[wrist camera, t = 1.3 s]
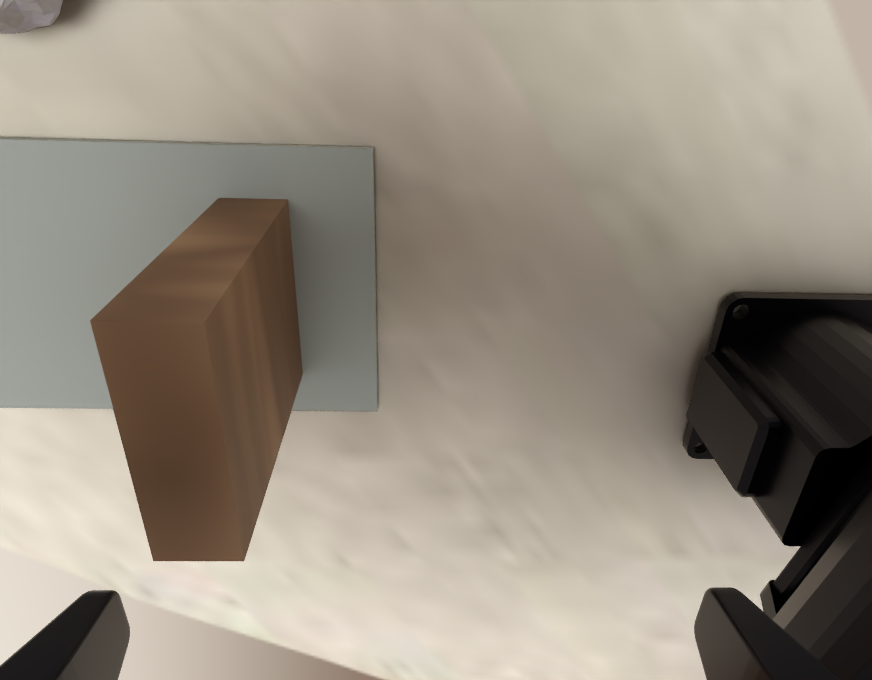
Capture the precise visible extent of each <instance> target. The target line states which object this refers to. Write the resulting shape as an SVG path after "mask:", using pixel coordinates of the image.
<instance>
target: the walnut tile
mask: <svg viewBox="0 0 872 680" xmlns="http://www.w3.org/2000/svg"><path fill="white" fill-rule="evenodd" d="M90 323H91V327H92V330H93V334H94V338H95V342H96V346H97V349H98V353H99V357H100V361H101V364H102V368H103V372H104V376H105V380H106V383H107V387H108V391H109V395H110V398H111V402H112V406H113V410H114V414H115V417H116V421H117V425H118V429H119V432H120V436H121V440H122V444H123V448H124V451H125V455H126V459H127V463H128V467H129V470H130V474H131V478H132V482H133V485H134V489H135V493H136V497H137V501H138V504H139V508H140V512H141V516H142V519H143V523H144V527H145V531H146V535H147V538H148V542H149V546H150V550H151V554H152V557H153V561H244V560H245V556H246V553H247V550H248V547H249V544H250V541H251V537H252V534H253V531H254V528H255V525H256V521H257V518H258V515H259V512H260V509H261V506H262V502H263V499H264V496H265V493H266V490H267V487H268V483H269V480H270V477H271V474H272V471H273V467H274V464H275V461H276V458H277V455H278V452H279V448H280V445H281V442H282V439H283V436H284V433H285V429H286V426H287V423H288V420H289V417H290V413H291V410H292V407H293V404H294V401H295V398H296V394H297V391H298V388H299V385H300V382H301V379H302V375H303V370H302V358H301V347H300V335H299V323H298V311H297V299H296V288H295V276H294V264H293V252H292V240H291V229H290V217H289V205H288V199H253V198H218V199H217V200H216V201H215V202H214V203H213V204H212V205H211V206H210V207H209V208H208V209H206V210H205V211H204V212H203V213H202V214H201V215H200V216H199V217H198V218H197V219H196V220H195V221H194V222H193V223H192V224H191V225H190V226H189V227H188V228H187V229H185V230H184V231H183V232H182V233H181V234H180V235H179V236H178V237H177V238H176V239H175V240H174V241H173V242H172V243H171V244H170V245H169V246H168V247H167V248H166V249H164V250H163V251H162V252H161V253H160V254H159V255H158V256H157V257H156V258H155V259H154V260H153V261H152V262H151V263H150V264H149V265H148V266H147V267H146V268H145V269H143V270H142V271H141V272H140V273H139V274H138V275H137V276H136V277H135V278H134V279H133V280H132V281H131V282H130V283H129V284H128V285H127V286H126V287H125V288H124V289H122V290H121V291H120V292H119V293H118V294H117V295H116V296H115V297H114V298H113V299H112V300H111V301H110V302H109V303H108V304H107V305H106V306H105V307H104V308H103V309H102V310H100V311H99V312H98V313H97V314H96V315H95V316H94V317H93V318H92V319H91V320H90Z"/></svg>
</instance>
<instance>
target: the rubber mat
mask: <svg viewBox="0 0 872 680" xmlns="http://www.w3.org/2000/svg"><path fill="white" fill-rule="evenodd" d="M218 198H253V199H288V205H289V217H290V229H291V240H292V252H293V264H294V276H295V288H296V299H297V311H298V323H299V335H300V347H301V358H302V370H303V375H302V379H301V382H300V385H299V388H298V391H297V394H296V398H295V401H294V404H293V407H292V410H291V411H374V412H377V411H378V381H377V323H376V265H375V207H374V149H373V147H363V146H325V145H287V144H249V143H211V142H173V141H135V140H97V139H59V138H21V137H0V408H87V409H113V406H112V402H111V398H110V395H109V391H108V387H107V383H106V380H105V376H104V372H103V368H102V364H101V361H100V357H99V353H98V349H97V346H96V342H95V338H94V334H93V330H92V327H91V323H90V320H91V319H92V318H93V317H94V316H95V315H96V314H97V313H98V312H99V311H100V310H102V309H103V308H104V307H105V306H106V305H107V304H108V303H109V302H110V301H111V300H112V299H113V298H114V297H115V296H116V295H117V294H118V293H119V292H120V291H121V290H122V289H124V288H125V287H126V286H127V285H128V284H129V283H130V282H131V281H132V280H133V279H134V278H135V277H136V276H137V275H138V274H139V273H140V272H141V271H142V270H143V269H145V268H146V267H147V266H148V265H149V264H150V263H151V262H152V261H153V260H154V259H155V258H156V257H157V256H158V255H159V254H160V253H161V252H162V251H163V250H164V249H166V248H167V247H168V246H169V245H170V244H171V243H172V242H173V241H174V240H175V239H176V238H177V237H178V236H179V235H180V234H181V233H182V232H183V231H184V230H185V229H187V228H188V227H189V226H190V225H191V224H192V223H193V222H194V221H195V220H196V219H197V218H198V217H199V216H200V215H201V214H202V213H203V212H204V211H205V210H206V209H208V208H209V207H210V206H211V205H212V204H213V203H214V202H215V201H216V200H217V199H218Z"/></svg>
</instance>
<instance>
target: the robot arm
mask: <svg viewBox="0 0 872 680" xmlns="http://www.w3.org/2000/svg"><path fill="white" fill-rule="evenodd" d="M739 305H743V308H742V309H741V311H739V312H738V313H734V314H733V311H734V309H735V308H736V307H737V306H739ZM687 418H688V420H689V422H688V425H687V429H686V432H685V436H684V440H683V446H684V448H685V450H686V451H687V453H688V455H689V456H691V457H692V458H696V459H715V461H716V462H717V464H718V465H719V467H720V468H721V470H722V471H723V473H724V474H725V476H726V477H727V479H728V480H729V482H730V484H731V485H732V487H733V488H734V489H735V491H736V492H737V493H738V494H739V495H740V496H741V497H752V499H753V500H754V502H755V503H756V505H757V506H758V508H759V509H760V510H761V512H762V513H763V515H764V516H765V518H766V519H767V521H768V522H769V524H770V525H771V527H772V528H773V530H774V531H775V533H776V534H777V535H778V537H779V538H780V540H781V541H782V543H783V544H784V545H787V546H801V547H800V548H799V549H798V551H797V552H796V553H795V555H794V556H793V557H792V559H791V560H790V561H789V563H788V564H787V565H786V567H785V568H784V569H783V571H782V572H781V573H780V575H779V576H778V577H777V579H776V580H771V581H769V583H768V584H767V585H766V587H765V588H764V589H763V591H762V592H761V594H760V596H761V601H762V606H763V611H764V612H763V611H762V610H761V609H760V608H758V607H757V606H756V605H755V604H754V603H753V602H752V601H750V600H749V599H748V598H747V597H746V596H745V595H744V594H743V593H741V592H740V591H738V590H737V589H734V588H709V589H708V590H707V591H706V592H705V594H704V597H703V600H702V603H701V606H700V609H699V611H698V614H697V617H696V620H695V625H694V633H695V639H696V643H697V646H698V650H699V653H700V657H701V661H702V664H703V668H704V671H705V675H706V678H707V680H872V295H844V294H788V293H734V294H731V295H730V296H728V297H727V298H725V299H724V300H723V302H722V304H721V306H720V309H719V313H718V317H717V320H716V324H715V327H714V331H713V335H712V338H711V342H710V345H709V349H708V352H707V353H706V354H705V355H704V356H703V358H702V360H701V363H700V367H699V371H698V374H697V378H696V382H695V385H694V389H693V393H692V396H691V400H690V404H689V407H688V411H687ZM701 442H703V443H702V444H701V445H699V446H696V447H695V445H696V444H698V443H701ZM129 637H130V627H129V623H128V620H127V617H126V613H125V611H124V607H123V604H122V601H121V598H120V595H119V594H118V593H117V592H116V591H113V590H99V591H98V590H93V591H88V592H86V593H85V594H83V595H81V596H80V597H79V598H78V599H77V600H75V602H73V603H72V604H71V605H70V606H69V607H67V608H66V609H65V610H64V611H63V612H62V613H60V614H59V615H58V616H57V617H56V618H55V619H54V620H52V621H51V622H50V623H49V624H48V625H47V626H45V628H43V629H42V630H41V631H40V632H39V633H37V634H36V635H35V636H34V637H33V638H32V639H31V640H29V641H28V642H27V643H26V644H25V645H24V646H22V647H21V648H20V649H19V650H18V651H17V652H16V653H14V654H13V655H12V656H11V657H10V658H9V659H7V660H6V661H5V662H4V663H3V664H2V665H0V680H118V677H119V674H120V670H121V667H122V663H123V660H124V656H125V653H126V650H127V647H128V643H129Z"/></svg>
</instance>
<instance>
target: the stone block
mask: <svg viewBox="0 0 872 680" xmlns="http://www.w3.org/2000/svg"><path fill="white" fill-rule="evenodd" d="M62 3H63V0H0V34H15V33H22V32H28V31H30V30H32V29H34V28H37V27H45V26H50V25H51V24H53V23H54V22H55V20H56V19H57V18H58V16H59V15H60V10H61V6H62Z"/></svg>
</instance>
